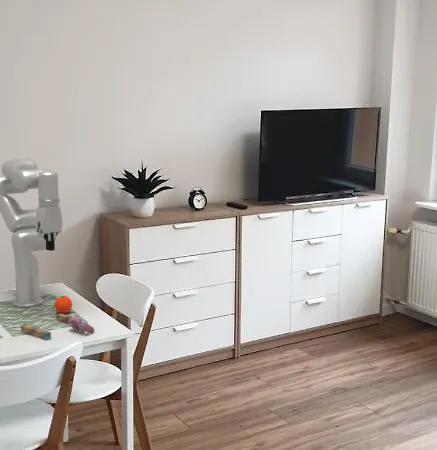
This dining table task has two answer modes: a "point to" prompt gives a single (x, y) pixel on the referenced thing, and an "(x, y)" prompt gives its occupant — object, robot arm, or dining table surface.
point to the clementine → (63, 304)
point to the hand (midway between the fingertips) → (50, 249)
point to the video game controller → (80, 325)
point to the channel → (42, 333)
